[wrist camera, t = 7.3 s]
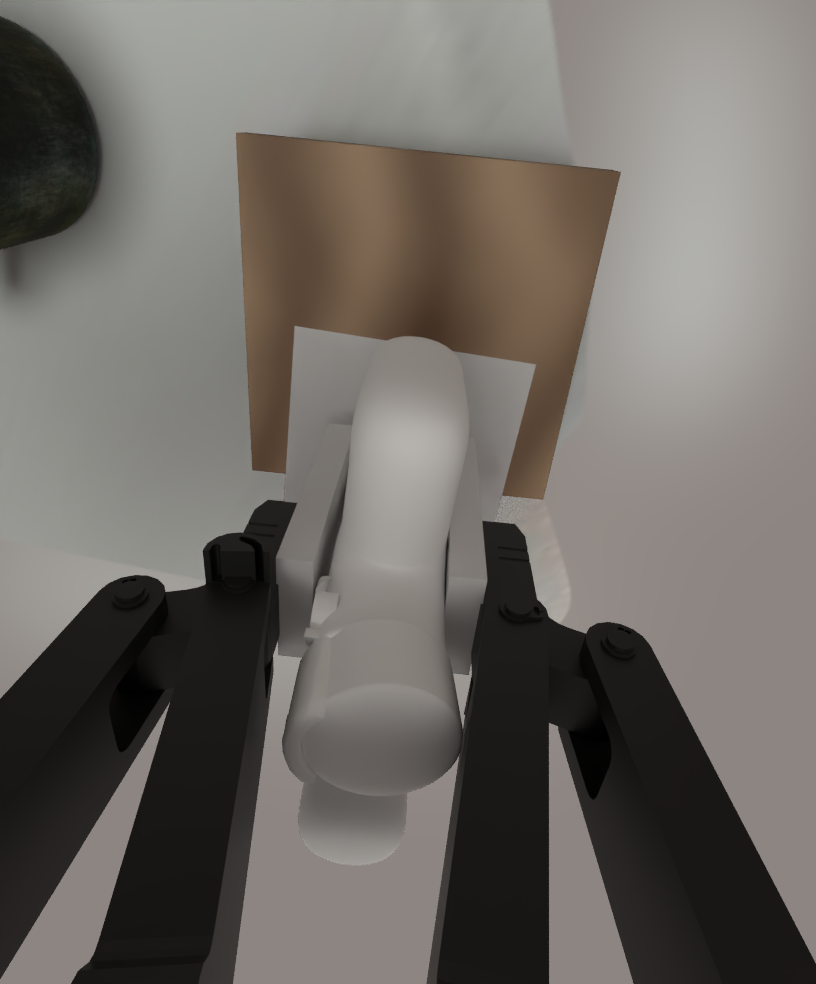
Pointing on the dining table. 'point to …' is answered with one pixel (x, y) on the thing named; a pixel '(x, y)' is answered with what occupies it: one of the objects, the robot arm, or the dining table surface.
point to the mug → (40, 141)
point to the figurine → (386, 573)
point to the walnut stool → (418, 268)
